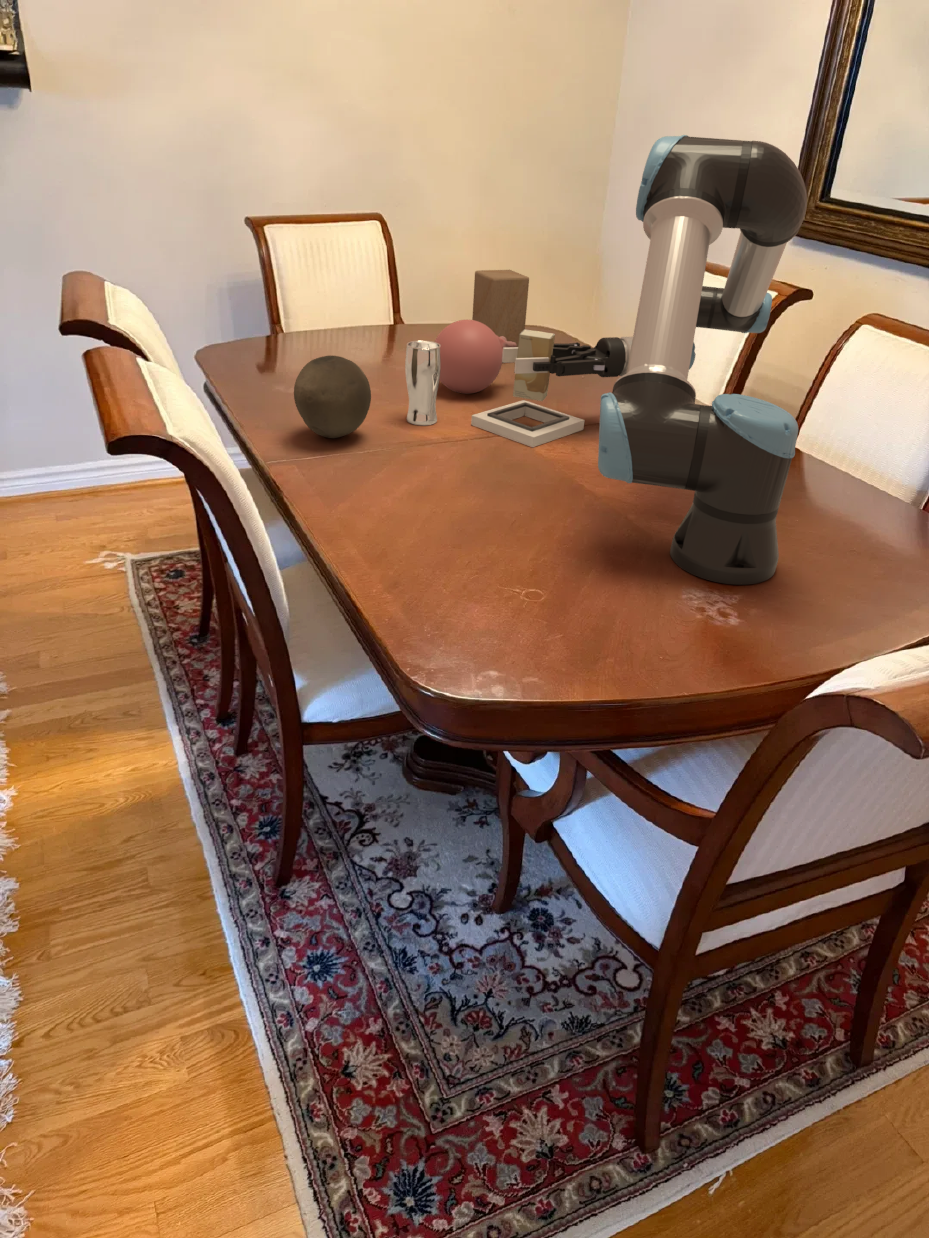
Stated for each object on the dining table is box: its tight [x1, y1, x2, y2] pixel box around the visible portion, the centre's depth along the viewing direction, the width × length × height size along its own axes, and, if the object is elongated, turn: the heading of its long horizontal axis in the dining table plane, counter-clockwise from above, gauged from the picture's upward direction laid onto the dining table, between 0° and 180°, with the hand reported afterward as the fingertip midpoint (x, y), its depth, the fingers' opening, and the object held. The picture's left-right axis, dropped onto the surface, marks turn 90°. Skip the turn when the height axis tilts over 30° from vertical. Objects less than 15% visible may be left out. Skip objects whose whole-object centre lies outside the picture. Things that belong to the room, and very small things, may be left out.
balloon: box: [434, 319, 517, 395], centre depth 186 cm, size 15×20×15 cm
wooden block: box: [471, 269, 530, 364], centre depth 209 cm, size 10×10×20 cm
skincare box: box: [512, 328, 556, 402], centre depth 165 cm, size 6×4×12 cm
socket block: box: [470, 399, 585, 448], centre depth 170 cm, size 16×16×2 cm
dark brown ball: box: [293, 355, 372, 439], centre depth 156 cm, size 14×14×15 cm
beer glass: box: [404, 339, 441, 426], centre depth 167 cm, size 7×7×15 cm
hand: (509, 360), depth 163 cm, fingers closed on skincare box, 7 cm apart
